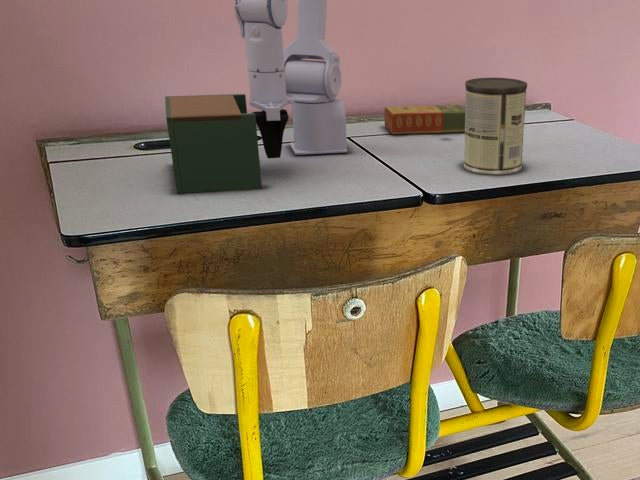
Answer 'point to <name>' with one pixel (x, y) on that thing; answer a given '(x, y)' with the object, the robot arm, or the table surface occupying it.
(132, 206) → the table surface
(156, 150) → the table surface
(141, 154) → the table surface
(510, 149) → the coffee can
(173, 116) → the cabinet
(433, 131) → the carton
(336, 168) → the table surface
